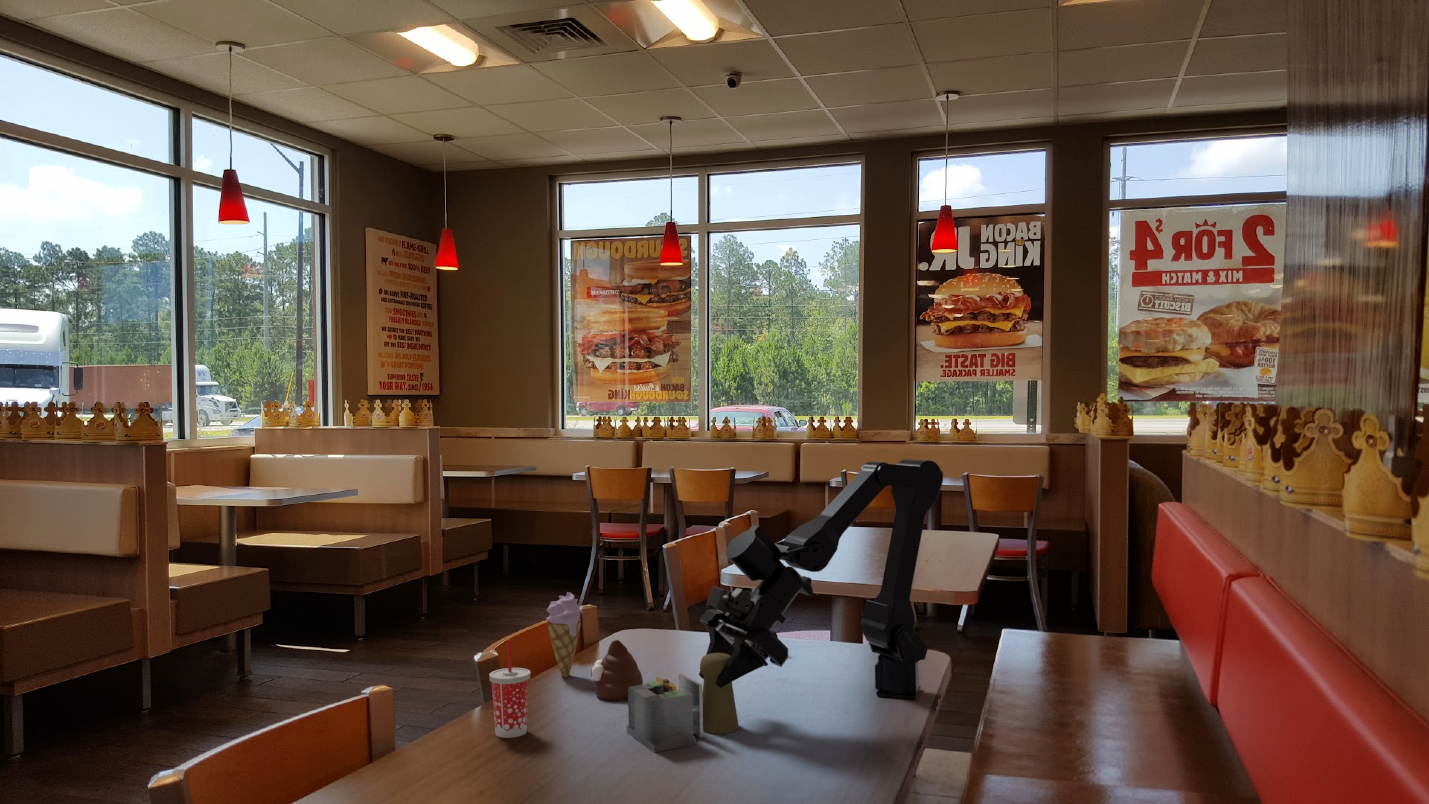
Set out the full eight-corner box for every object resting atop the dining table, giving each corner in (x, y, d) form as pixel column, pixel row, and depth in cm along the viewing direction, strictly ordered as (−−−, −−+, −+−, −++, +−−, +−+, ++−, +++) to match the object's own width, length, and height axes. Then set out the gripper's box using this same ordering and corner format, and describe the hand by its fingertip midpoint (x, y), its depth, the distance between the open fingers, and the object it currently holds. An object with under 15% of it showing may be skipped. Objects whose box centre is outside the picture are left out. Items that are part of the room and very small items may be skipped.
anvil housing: (666, 725, 151) (665, 678, 151) (695, 744, 142) (694, 694, 142) (626, 732, 148) (625, 684, 148) (654, 752, 139) (653, 701, 139)
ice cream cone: (591, 674, 180) (590, 592, 180) (568, 683, 175) (567, 598, 175) (563, 669, 184) (562, 589, 184) (540, 678, 179) (539, 594, 179)
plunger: (682, 723, 151) (681, 670, 151) (703, 736, 145) (702, 681, 145) (655, 728, 149) (654, 674, 149) (675, 742, 143) (674, 686, 143)
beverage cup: (539, 728, 151) (537, 636, 151) (518, 741, 145) (516, 645, 145) (503, 724, 153) (502, 633, 153) (482, 737, 147) (480, 643, 147)
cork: (734, 734, 146) (732, 660, 146) (695, 732, 147) (692, 659, 147) (741, 721, 152) (739, 649, 152) (703, 719, 153) (701, 648, 153)
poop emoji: (640, 702, 164) (639, 645, 164) (588, 702, 164) (587, 646, 164) (645, 684, 174) (644, 631, 174) (596, 685, 174) (595, 632, 174)
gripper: (709, 558, 160) (648, 636, 155) (768, 575, 143) (703, 663, 138) (752, 601, 164) (694, 678, 158) (815, 623, 147) (753, 709, 142)
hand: (709, 681), depth 149 cm, fingers closed on cork, 5 cm apart
